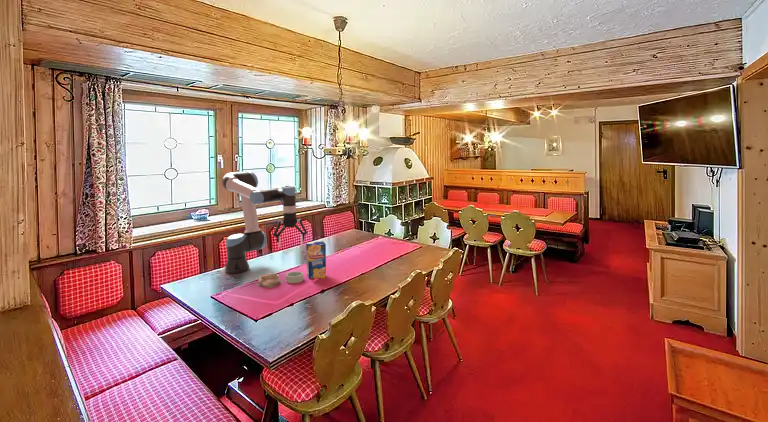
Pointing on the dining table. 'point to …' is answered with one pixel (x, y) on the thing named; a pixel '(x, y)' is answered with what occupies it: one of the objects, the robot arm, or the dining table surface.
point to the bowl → (294, 277)
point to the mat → (269, 287)
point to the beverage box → (316, 259)
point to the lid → (269, 280)
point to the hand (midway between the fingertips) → (290, 246)
